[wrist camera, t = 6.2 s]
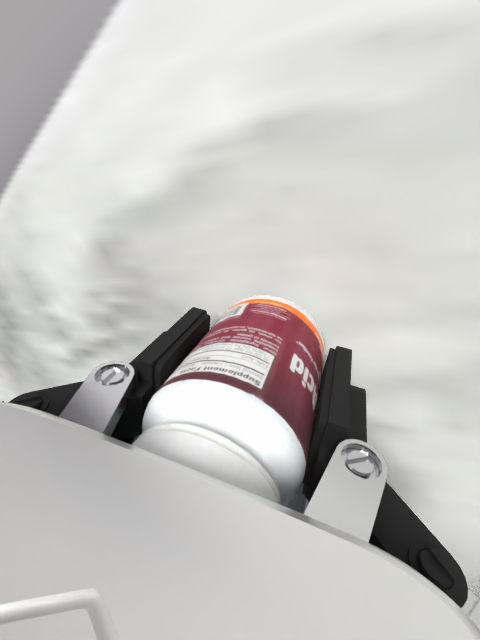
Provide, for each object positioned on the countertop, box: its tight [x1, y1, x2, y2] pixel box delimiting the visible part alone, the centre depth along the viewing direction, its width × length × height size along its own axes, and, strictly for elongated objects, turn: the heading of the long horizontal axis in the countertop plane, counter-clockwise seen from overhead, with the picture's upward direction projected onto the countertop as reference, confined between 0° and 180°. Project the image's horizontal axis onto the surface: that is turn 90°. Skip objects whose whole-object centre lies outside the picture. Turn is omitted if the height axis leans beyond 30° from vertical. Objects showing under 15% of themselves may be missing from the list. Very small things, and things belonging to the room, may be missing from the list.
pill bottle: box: [132, 295, 325, 506], centre depth 10 cm, size 5×5×8 cm
